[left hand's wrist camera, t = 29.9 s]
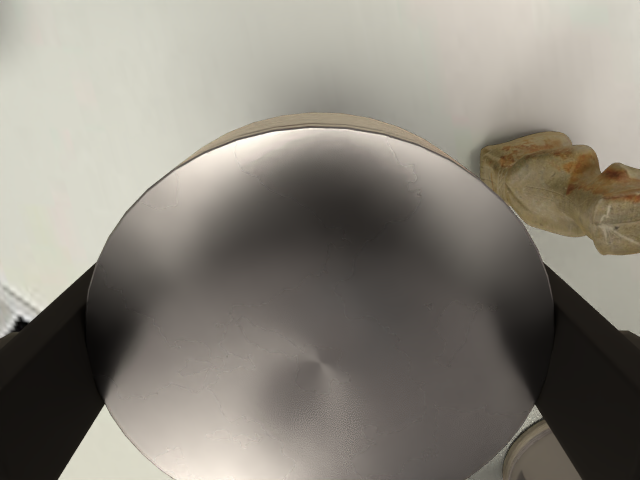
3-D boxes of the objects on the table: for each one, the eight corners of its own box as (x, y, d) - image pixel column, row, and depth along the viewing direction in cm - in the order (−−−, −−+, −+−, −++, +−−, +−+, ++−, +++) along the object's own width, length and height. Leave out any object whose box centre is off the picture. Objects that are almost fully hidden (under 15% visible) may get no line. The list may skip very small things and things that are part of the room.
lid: (46, 219, 11) (-20, 258, 9) (438, 31, 10) (473, 22, 8) (242, 489, 15) (228, 564, 13) (553, 384, 13) (599, 449, 11)
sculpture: (556, 192, 37) (699, 272, 23) (468, 201, 37) (556, 285, 23) (562, 120, 35) (725, 159, 21) (469, 130, 35) (567, 175, 21)
